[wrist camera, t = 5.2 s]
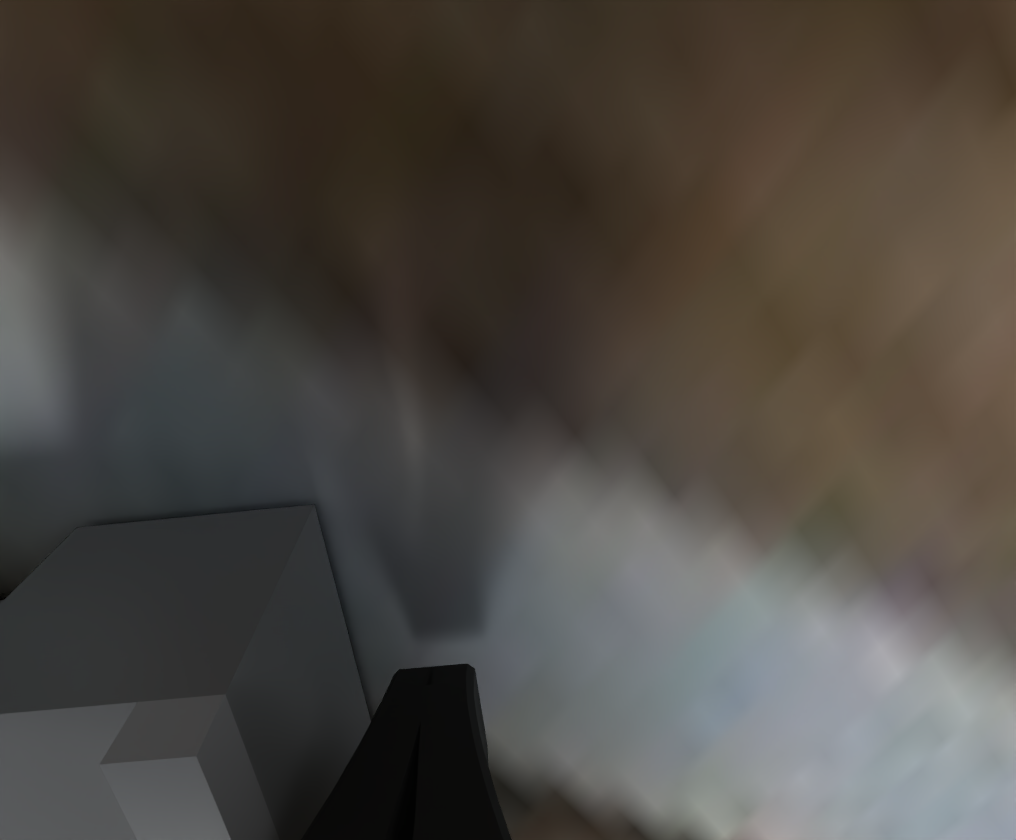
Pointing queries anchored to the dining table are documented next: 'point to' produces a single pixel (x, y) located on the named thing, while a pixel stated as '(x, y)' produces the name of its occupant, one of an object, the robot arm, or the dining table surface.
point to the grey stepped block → (177, 682)
